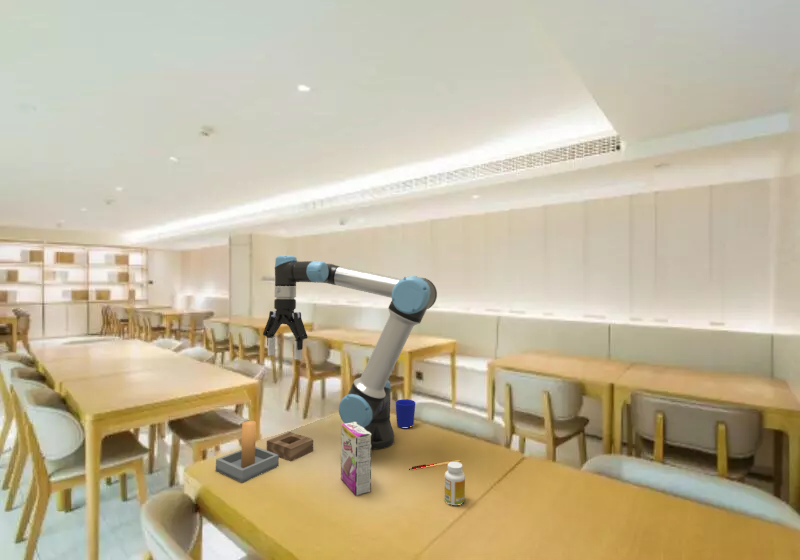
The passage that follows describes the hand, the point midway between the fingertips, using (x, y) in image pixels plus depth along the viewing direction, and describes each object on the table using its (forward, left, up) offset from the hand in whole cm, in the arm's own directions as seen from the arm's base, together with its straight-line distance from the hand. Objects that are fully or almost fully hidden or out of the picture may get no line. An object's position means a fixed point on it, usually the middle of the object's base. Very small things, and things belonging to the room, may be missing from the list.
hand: (284, 357), depth 140 cm
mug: (-25, -43, -31) cm, 59 cm away
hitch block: (-7, +3, -31) cm, 32 cm away
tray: (-6, +19, -31) cm, 37 cm away
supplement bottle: (-67, -1, -31) cm, 74 cm away
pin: (-6, +19, -30) cm, 36 cm away
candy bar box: (-40, +8, -31) cm, 52 cm away
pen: (-53, -17, -32) cm, 64 cm away
